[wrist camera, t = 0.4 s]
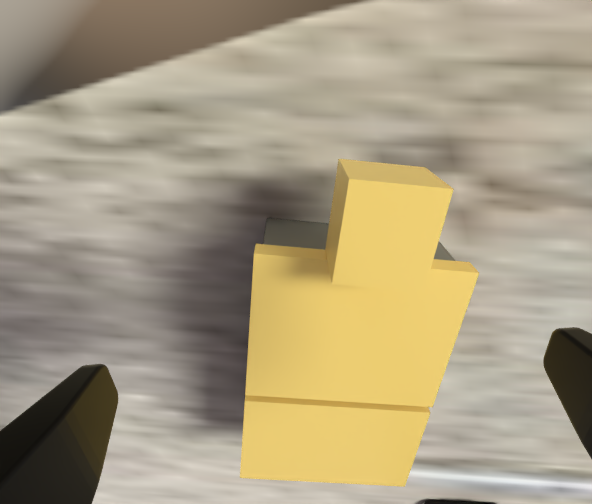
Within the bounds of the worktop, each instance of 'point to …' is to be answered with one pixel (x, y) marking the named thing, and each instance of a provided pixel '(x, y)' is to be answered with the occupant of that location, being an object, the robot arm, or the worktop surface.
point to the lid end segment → (361, 296)
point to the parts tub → (328, 417)
